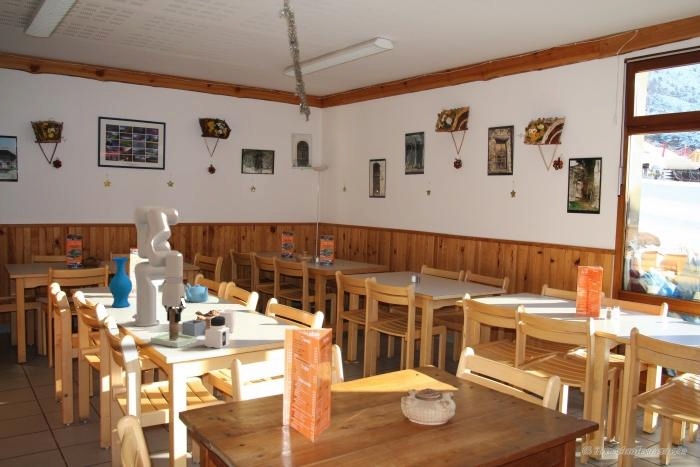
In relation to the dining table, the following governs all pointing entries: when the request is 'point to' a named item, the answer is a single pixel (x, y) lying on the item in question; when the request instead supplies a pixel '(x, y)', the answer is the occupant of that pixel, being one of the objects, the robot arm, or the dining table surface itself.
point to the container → (217, 333)
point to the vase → (120, 284)
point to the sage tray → (173, 340)
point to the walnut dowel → (173, 325)
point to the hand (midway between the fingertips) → (173, 320)
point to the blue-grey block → (194, 328)
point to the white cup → (229, 318)
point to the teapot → (196, 293)
